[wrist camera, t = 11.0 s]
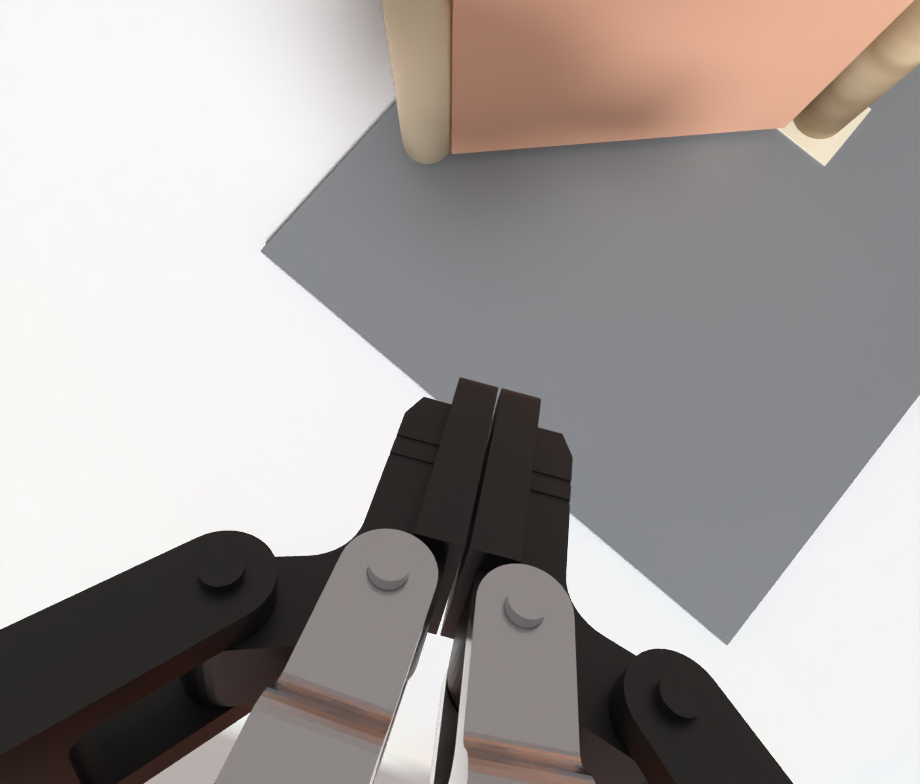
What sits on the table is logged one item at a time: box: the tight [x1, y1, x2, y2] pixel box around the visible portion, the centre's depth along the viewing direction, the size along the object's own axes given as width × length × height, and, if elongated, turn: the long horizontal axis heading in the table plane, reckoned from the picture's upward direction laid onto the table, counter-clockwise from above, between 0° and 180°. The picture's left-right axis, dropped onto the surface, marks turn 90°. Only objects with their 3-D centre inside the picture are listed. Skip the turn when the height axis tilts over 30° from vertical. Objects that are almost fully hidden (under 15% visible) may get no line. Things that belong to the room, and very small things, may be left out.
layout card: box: [261, 64, 920, 645], centre depth 24 cm, size 21×28×1 cm
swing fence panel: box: [381, 0, 914, 164], centre depth 19 cm, size 2×14×8 cm, turn 95°
